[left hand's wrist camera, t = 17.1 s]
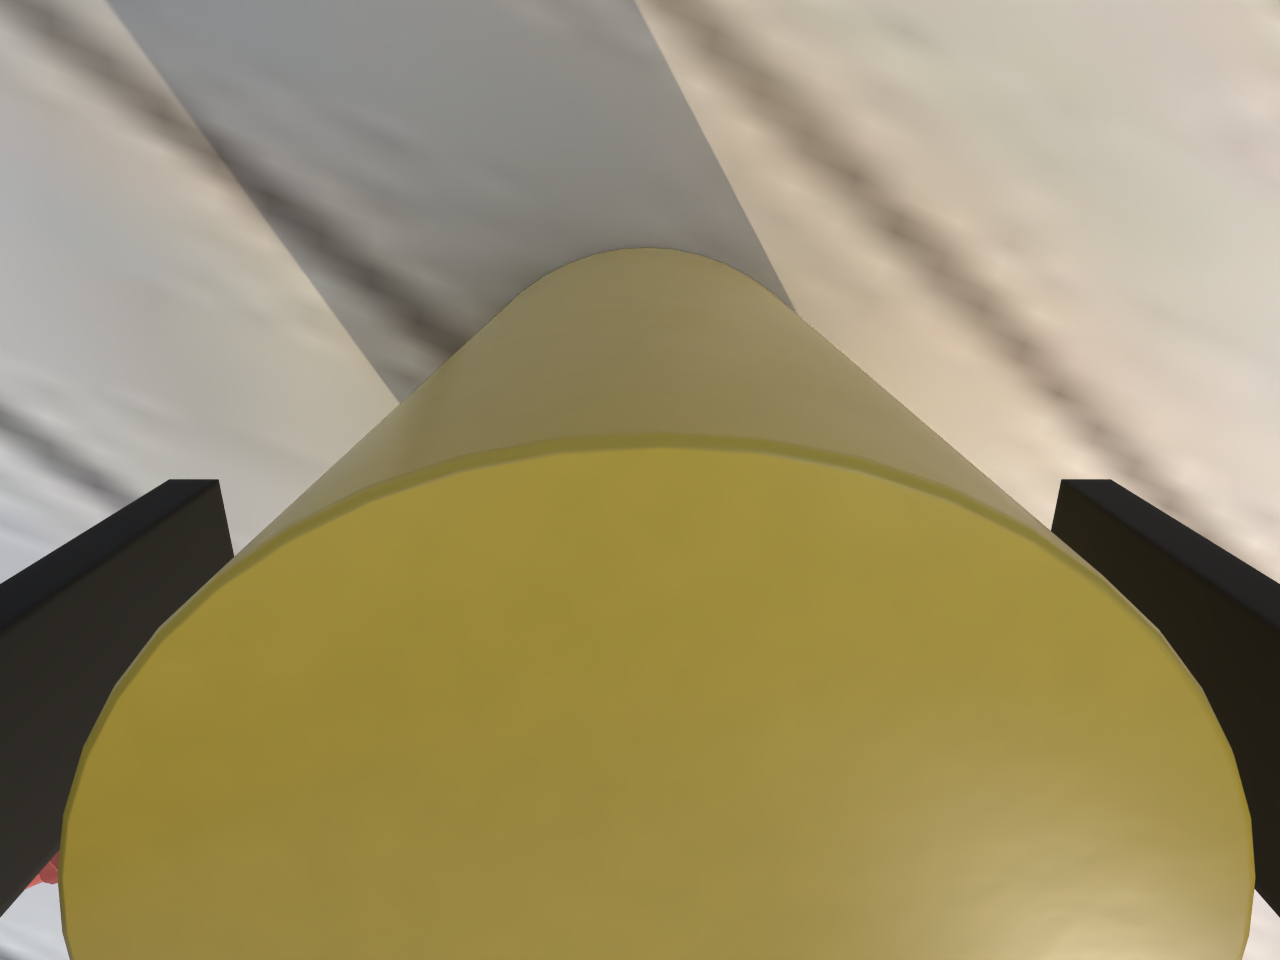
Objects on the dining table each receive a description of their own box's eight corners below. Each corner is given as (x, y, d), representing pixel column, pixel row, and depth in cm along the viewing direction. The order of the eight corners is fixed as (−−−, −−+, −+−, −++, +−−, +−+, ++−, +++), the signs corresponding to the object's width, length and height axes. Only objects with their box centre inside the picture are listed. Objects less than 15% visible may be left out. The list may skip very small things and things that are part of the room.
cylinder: (647, 154, 15) (664, 65, 4) (911, 443, 17) (1480, 994, 6) (379, 441, 17) (-169, 988, 6) (644, 668, 20) (649, 1409, 8)
